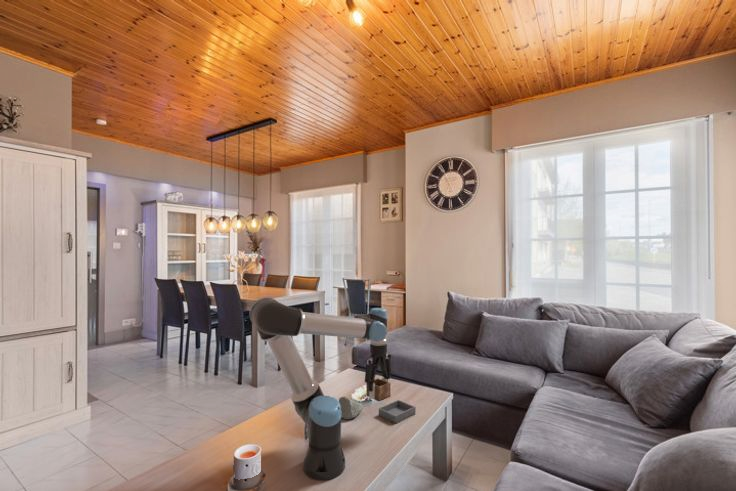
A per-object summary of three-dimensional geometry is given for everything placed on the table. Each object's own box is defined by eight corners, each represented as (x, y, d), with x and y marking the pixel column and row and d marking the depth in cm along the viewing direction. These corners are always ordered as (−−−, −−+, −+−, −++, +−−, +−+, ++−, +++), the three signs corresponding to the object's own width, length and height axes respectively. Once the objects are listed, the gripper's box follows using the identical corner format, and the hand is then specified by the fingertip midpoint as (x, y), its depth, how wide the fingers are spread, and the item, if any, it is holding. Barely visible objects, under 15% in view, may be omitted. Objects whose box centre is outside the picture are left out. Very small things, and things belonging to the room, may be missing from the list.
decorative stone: (340, 423, 157) (354, 405, 157) (329, 407, 165) (342, 390, 166) (357, 428, 165) (369, 411, 166) (345, 412, 173) (358, 396, 174)
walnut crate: (379, 401, 146) (379, 387, 146) (366, 395, 152) (366, 382, 152) (390, 396, 151) (390, 383, 151) (377, 391, 157) (377, 378, 157)
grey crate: (395, 424, 157) (395, 416, 157) (378, 415, 165) (378, 408, 165) (415, 414, 167) (415, 406, 167) (398, 406, 175) (398, 399, 175)
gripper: (367, 349, 143) (367, 405, 142) (399, 341, 156) (399, 392, 156) (356, 345, 148) (355, 399, 148) (387, 338, 162) (387, 387, 161)
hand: (378, 395), depth 152 cm, fingers closed on walnut crate, 7 cm apart
